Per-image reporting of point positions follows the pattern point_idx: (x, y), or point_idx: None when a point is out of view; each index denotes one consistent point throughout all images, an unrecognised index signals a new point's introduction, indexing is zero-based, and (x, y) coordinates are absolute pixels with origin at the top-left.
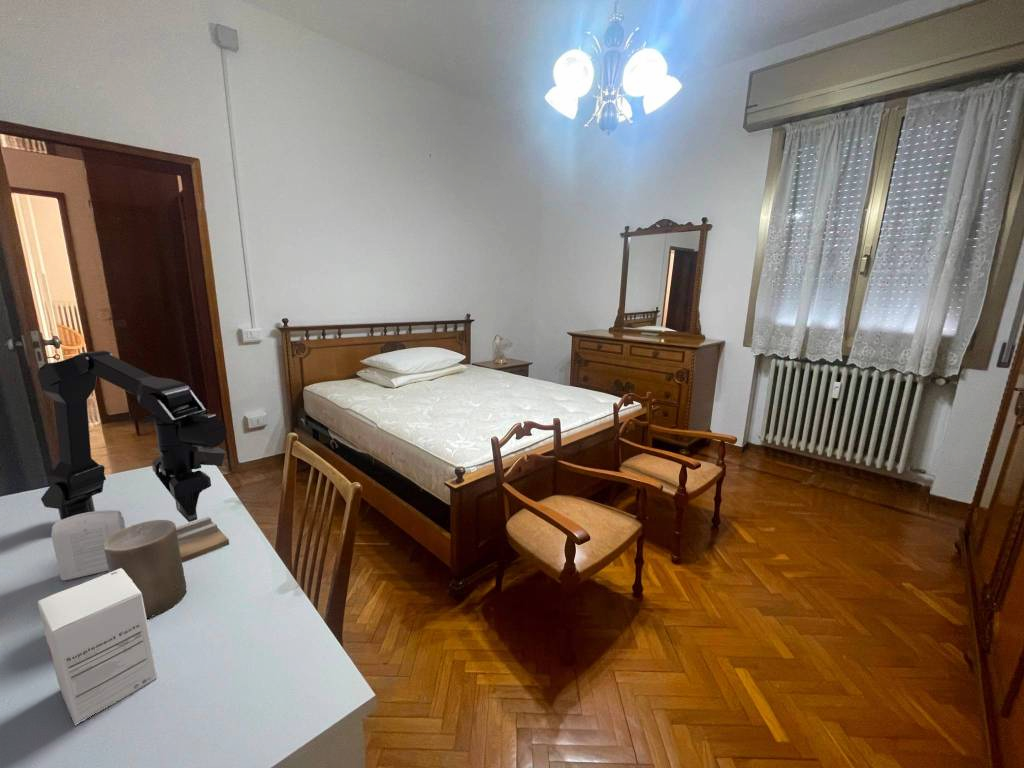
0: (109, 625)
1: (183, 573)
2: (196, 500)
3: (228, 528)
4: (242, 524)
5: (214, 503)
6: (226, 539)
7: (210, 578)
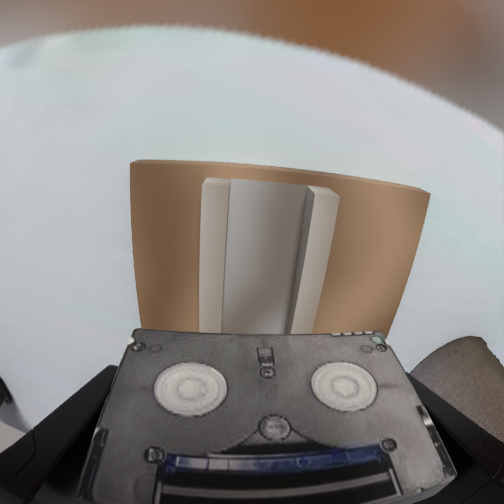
0: None
1: (499, 365)
2: (482, 436)
3: (288, 122)
4: (305, 66)
5: (5, 103)
6: (423, 198)
7: (491, 293)
